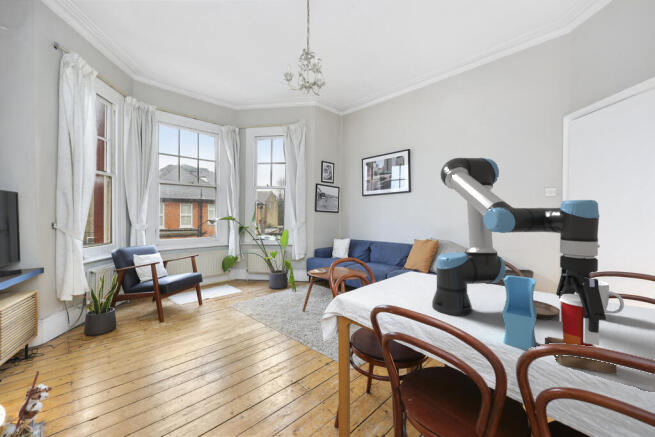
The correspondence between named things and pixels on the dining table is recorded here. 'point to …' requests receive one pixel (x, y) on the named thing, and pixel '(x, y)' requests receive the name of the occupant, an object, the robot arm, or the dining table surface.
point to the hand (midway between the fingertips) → (577, 332)
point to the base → (581, 360)
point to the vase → (519, 312)
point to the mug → (605, 297)
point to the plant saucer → (545, 310)
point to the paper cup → (572, 319)
